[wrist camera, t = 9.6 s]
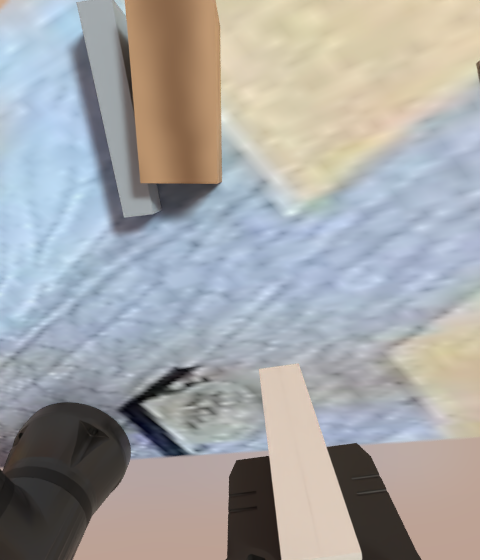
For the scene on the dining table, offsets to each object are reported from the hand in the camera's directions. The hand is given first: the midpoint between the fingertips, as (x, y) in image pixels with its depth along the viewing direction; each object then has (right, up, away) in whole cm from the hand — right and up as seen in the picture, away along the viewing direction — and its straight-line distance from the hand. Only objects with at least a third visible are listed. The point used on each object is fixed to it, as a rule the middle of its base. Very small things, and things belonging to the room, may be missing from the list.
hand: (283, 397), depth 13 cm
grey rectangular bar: (-13, +21, +21) cm, 32 cm away
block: (-7, +22, +21) cm, 31 cm away
